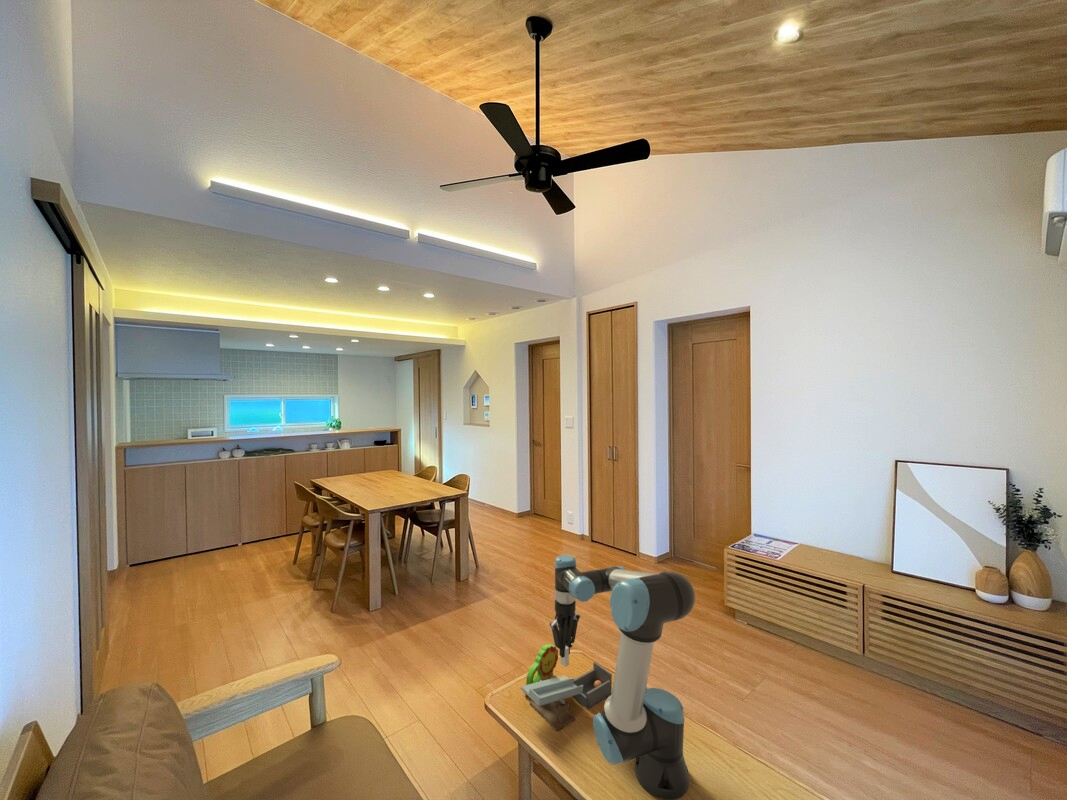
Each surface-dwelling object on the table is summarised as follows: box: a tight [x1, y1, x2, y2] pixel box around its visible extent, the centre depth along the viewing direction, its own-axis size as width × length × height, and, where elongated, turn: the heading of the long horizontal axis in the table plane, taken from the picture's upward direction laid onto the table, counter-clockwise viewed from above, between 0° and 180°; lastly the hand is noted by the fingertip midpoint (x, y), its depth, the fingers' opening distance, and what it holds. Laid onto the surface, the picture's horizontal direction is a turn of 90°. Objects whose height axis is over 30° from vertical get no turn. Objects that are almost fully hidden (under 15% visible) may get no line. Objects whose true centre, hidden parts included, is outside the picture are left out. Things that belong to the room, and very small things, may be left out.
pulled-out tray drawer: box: [571, 661, 613, 710], centre depth 159 cm, size 9×12×8 cm
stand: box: [529, 699, 576, 732], centre depth 151 cm, size 15×8×6 cm, turn 37°
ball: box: [594, 680, 602, 688], centre depth 162 cm, size 3×3×3 cm
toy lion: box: [523, 643, 559, 696], centre depth 163 cm, size 16×5×15 cm, turn 137°
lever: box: [520, 674, 583, 706], centre depth 151 cm, size 13×20×3 cm, turn 127°
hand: (564, 664), depth 157 cm, fingers closed
